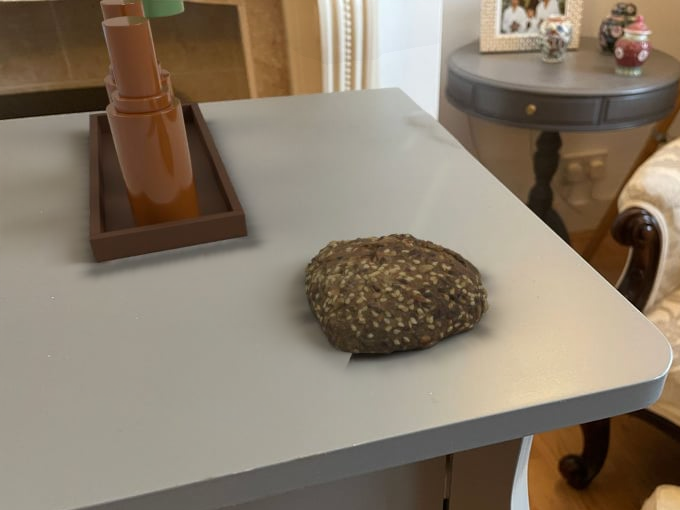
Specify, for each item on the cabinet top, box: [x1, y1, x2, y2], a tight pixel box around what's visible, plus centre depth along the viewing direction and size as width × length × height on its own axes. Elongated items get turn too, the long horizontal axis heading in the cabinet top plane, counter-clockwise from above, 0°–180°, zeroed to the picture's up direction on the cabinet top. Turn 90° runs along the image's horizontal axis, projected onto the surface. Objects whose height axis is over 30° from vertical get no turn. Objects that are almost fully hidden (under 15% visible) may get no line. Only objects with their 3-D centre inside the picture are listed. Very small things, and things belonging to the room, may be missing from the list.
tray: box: [88, 101, 248, 264], centre depth 62 cm, size 30×12×3 cm, turn 21°
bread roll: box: [304, 233, 490, 355], centre depth 45 cm, size 13×12×5 cm
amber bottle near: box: [101, 16, 201, 228], centre depth 51 cm, size 5×5×16 cm
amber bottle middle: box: [99, 0, 175, 104], centre depth 57 cm, size 5×5×16 cm
